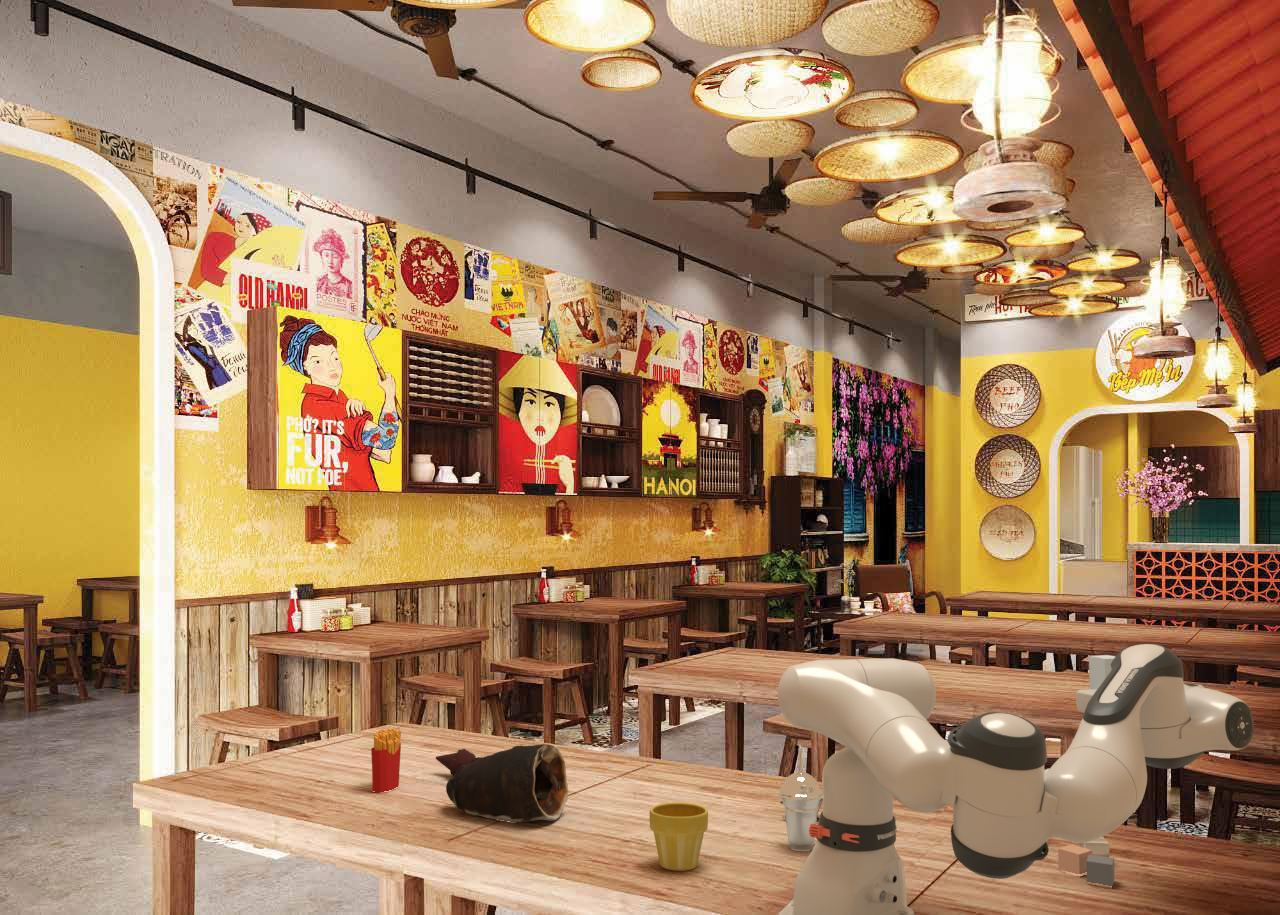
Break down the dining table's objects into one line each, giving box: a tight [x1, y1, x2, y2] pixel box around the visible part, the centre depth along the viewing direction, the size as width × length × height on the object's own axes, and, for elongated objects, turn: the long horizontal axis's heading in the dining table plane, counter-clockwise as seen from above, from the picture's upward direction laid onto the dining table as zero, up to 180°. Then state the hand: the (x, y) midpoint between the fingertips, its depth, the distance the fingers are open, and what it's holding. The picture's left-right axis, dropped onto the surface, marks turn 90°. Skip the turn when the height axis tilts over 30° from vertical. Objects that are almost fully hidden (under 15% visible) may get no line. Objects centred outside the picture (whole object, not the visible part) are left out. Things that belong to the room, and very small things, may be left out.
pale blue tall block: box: [1088, 654, 1117, 689], centre depth 187 cm, size 4×4×16 cm
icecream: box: [435, 748, 484, 777], centre depth 250 cm, size 7×7×15 cm
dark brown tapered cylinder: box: [445, 743, 569, 823], centre depth 220 cm, size 15×15×25 cm
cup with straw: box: [777, 743, 823, 853], centre depth 199 cm, size 8×9×20 cm
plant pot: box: [649, 801, 709, 872], centre depth 189 cm, size 10×10×10 cm
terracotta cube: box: [1057, 843, 1092, 874], centre depth 186 cm, size 4×4×4 cm
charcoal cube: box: [1086, 855, 1116, 887], centre depth 181 cm, size 4×4×4 cm
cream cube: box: [1079, 836, 1110, 857], centre depth 192 cm, size 4×4×4 cm
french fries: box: [370, 727, 402, 793], centre depth 240 cm, size 9×4×13 cm, turn 160°
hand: (1103, 693), depth 188 cm, fingers closed on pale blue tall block, 4 cm apart
